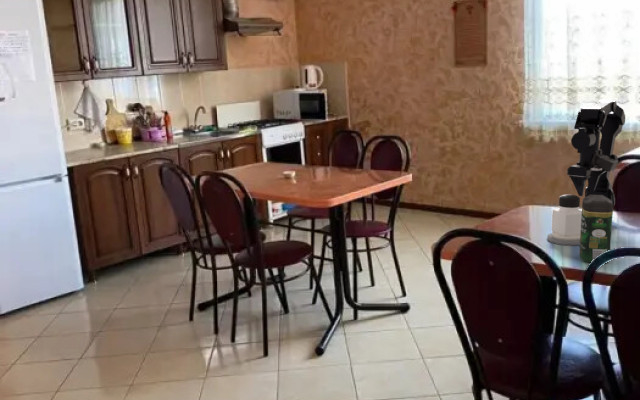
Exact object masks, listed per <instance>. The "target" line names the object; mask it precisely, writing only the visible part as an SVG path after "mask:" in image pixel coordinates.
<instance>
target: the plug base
mask: <svg viewBox="0 0 640 400" xmlns="http://www.w3.org/2000/svg"><path fill="white" fill-rule="evenodd" d="M551 232H552V233H549V234H547V237H546V240H547V241H548V242H550V243H552V244H556V245H559V246H568V247H570V246H573V247H575V246H578V247H579V246H580V235H571V236H563V235H561V234H558V233H556V232H554V231H551Z"/></svg>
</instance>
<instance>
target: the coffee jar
mask: <svg viewBox="0 0 640 400" xmlns="http://www.w3.org/2000/svg"><path fill="white" fill-rule="evenodd" d="M581 204H582V205H581V211H582V215H581V233H580V245H579V258H580V259H581V260H582V261H583V262H586V263H590V262H591V261H592V260H593V259H595V258H596V257H597V256H599V255H600V254H602V253H604V252H606V251H608V250H610V251H611V242H612V227H613V226H612V225H613V215H614V214H613V213H614V206H613V203H612V201H611V200H610V199H609V198H607V197H605V196H604V195H588V196H587V197H585V196H584V198H582V203H581Z"/></svg>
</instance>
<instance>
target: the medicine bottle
mask: <svg viewBox="0 0 640 400" xmlns="http://www.w3.org/2000/svg"><path fill="white" fill-rule="evenodd" d="M558 198H559V199H558V208H555V209H552V212H551V213H552V214H551V232H553V231H554V232H556V233H558V234H561V235H563V236H571V235H580V233H581V215H582V210H580V205H581V204H580V203H581V198H580V196H579V195H576V194H562V195H560V196H559V197H558Z"/></svg>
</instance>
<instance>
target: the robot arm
mask: <svg viewBox="0 0 640 400" xmlns="http://www.w3.org/2000/svg"><path fill="white" fill-rule="evenodd" d="M625 123H626V114H625V109H623V108H622V107H621V106H619V105H618V104H617V101H616V100H614V99H601V100H599V101H598V103H596V104H594V105H593V106H585V107H584V106H582V107H581V108H580V110H578V112H577V116H576V119H575V123H574V127H573V129H574V130H578V131H577V132H575V133H574V134H572V137H571V139H570V142H571V146H572V148H574V149H575V150H577V151H576V152H577V153H579V155H578V156H579V158H578V161H576V164H573V165H571V166H568V168H567V169H566V175H567V176H568V178H570V179H571V181H572V183H573V185H574V188H575V190H576V193H577V194H578V195H577V196H578V197H584V198H585V197H587V196H588V195H604V196H605V197H607V198H609V199H610V200H611V201H612V203H613V207H614V206H615V204H616V197H615V193H614V190H613V184H612V182H611V180H610V172H612V171H614V170H615V169H616V167H617V166H618V165H619V159H618V155H617V154H615V153H614V148H615V142H616V138H617V137H618V136H619V135H620V134H621V132H622V130H623V126H624V125H625ZM586 182H587V183H588V184H587V186H586ZM585 186H586V187H585Z"/></svg>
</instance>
